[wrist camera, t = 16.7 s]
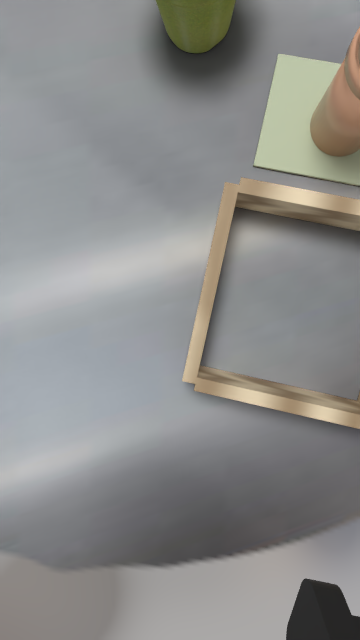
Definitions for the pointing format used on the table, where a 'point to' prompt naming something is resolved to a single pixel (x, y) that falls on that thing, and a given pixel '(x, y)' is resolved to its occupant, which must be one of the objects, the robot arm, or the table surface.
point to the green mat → (300, 123)
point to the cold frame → (206, 378)
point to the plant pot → (196, 22)
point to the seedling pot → (340, 108)
